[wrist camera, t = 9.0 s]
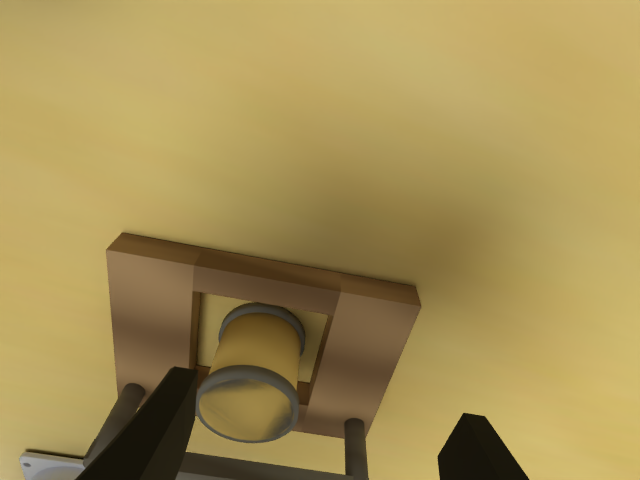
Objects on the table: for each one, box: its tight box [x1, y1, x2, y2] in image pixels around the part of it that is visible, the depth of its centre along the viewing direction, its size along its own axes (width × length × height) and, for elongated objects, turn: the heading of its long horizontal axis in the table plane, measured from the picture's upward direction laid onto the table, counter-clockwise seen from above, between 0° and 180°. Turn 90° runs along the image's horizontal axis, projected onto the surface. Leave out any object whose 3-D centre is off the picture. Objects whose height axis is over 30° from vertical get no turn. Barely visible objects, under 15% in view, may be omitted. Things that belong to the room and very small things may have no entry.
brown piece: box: [83, 233, 421, 480], centre depth 20 cm, size 11×15×6 cm
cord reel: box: [196, 302, 305, 443], centre depth 21 cm, size 5×5×5 cm
